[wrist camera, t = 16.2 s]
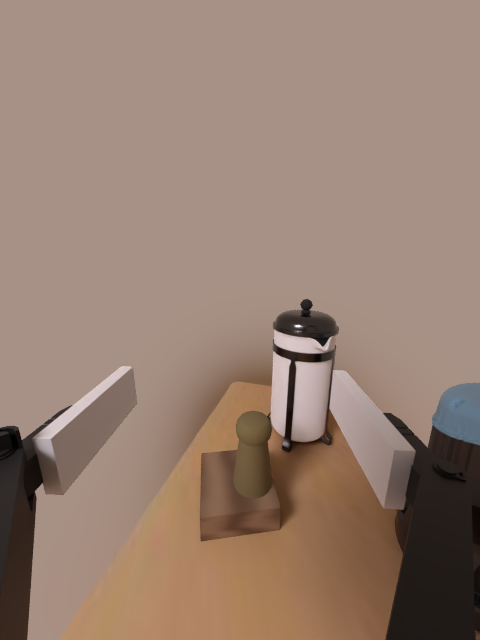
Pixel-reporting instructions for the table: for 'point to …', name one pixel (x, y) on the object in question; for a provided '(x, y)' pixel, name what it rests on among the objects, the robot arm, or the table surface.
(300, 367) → the coffee press
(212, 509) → the walnut base
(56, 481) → the robot arm
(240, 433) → the olive pawn
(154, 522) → the table surface
